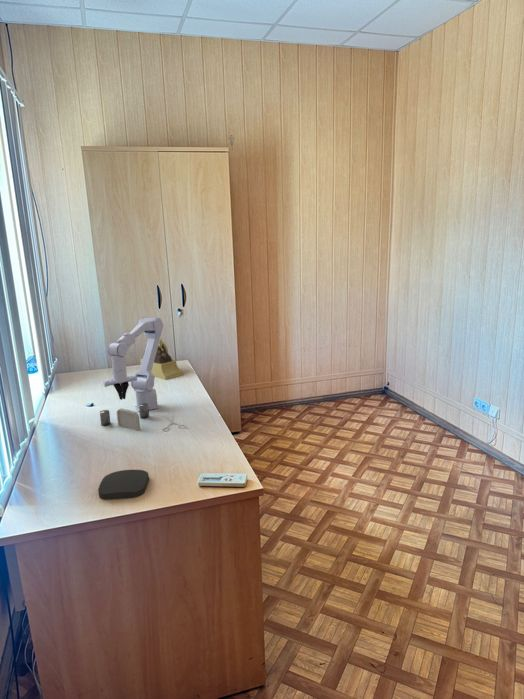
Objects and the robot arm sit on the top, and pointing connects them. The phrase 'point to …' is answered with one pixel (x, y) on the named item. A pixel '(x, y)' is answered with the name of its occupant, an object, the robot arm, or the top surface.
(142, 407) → the post
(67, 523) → the top surface
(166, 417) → the scissors
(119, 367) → the robot arm
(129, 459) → the top surface
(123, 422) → the light switch
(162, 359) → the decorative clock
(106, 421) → the post
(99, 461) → the top surface
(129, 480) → the media streaming box
